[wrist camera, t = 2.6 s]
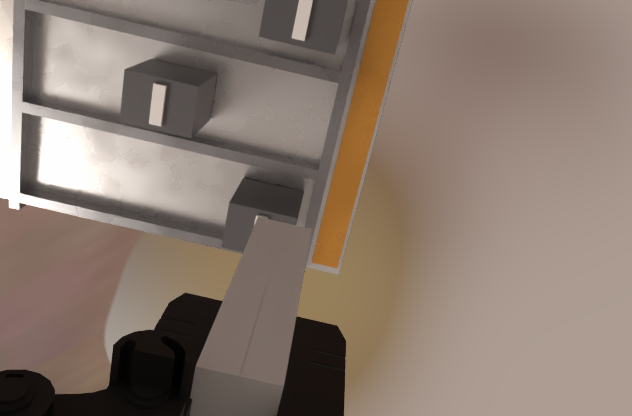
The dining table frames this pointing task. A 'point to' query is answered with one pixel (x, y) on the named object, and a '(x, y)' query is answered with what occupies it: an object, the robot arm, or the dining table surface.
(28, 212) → the dining table surface
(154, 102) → the breaker mid
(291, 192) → the breaker
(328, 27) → the breaker
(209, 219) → the panel
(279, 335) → the robot arm
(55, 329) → the dining table surface
